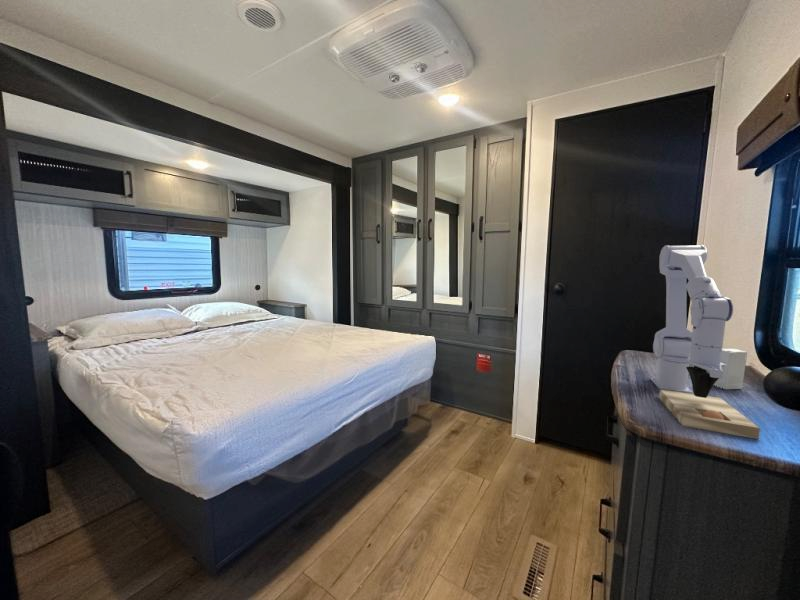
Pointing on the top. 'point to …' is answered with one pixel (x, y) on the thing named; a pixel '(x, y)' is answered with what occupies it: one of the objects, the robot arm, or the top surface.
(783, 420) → the top surface
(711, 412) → the ball
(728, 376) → the skincare box
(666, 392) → the beige flat board
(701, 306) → the robot arm
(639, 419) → the top surface
